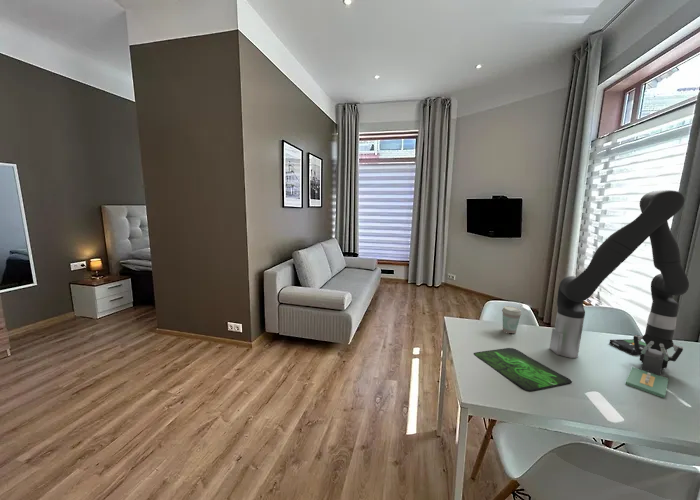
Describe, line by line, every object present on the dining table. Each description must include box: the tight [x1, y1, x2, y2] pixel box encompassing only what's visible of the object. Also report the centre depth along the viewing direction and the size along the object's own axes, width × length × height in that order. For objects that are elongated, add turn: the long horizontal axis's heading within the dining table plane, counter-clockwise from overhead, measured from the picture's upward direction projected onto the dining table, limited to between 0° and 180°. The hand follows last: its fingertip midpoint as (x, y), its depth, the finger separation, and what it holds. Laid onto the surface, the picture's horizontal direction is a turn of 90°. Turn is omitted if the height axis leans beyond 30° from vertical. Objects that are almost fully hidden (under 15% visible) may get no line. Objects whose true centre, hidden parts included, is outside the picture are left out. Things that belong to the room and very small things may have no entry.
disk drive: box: [608, 338, 646, 356], centre depth 132 cm, size 10×3×15 cm
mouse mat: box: [473, 347, 573, 392], centre depth 113 cm, size 27×22×1 cm
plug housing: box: [641, 348, 664, 376], centre depth 116 cm, size 5×12×6 cm, turn 130°
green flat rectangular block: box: [625, 366, 669, 399], centre depth 105 cm, size 10×16×2 cm, turn 130°
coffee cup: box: [501, 305, 523, 334], centre depth 145 cm, size 8×9×12 cm
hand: (652, 365), depth 116 cm, fingers closed on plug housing, 5 cm apart
